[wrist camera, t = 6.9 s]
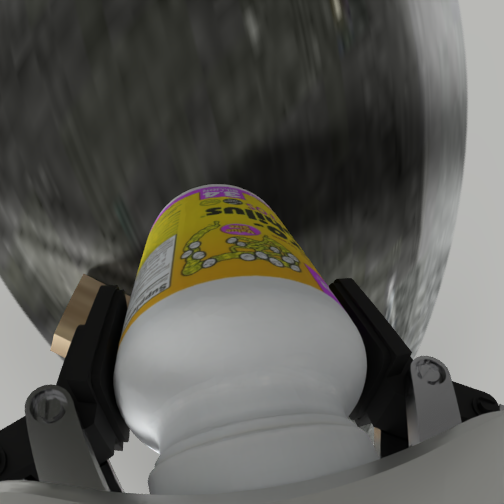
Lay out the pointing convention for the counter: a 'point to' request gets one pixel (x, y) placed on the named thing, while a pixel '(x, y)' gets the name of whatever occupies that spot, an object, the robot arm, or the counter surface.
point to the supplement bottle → (237, 353)
